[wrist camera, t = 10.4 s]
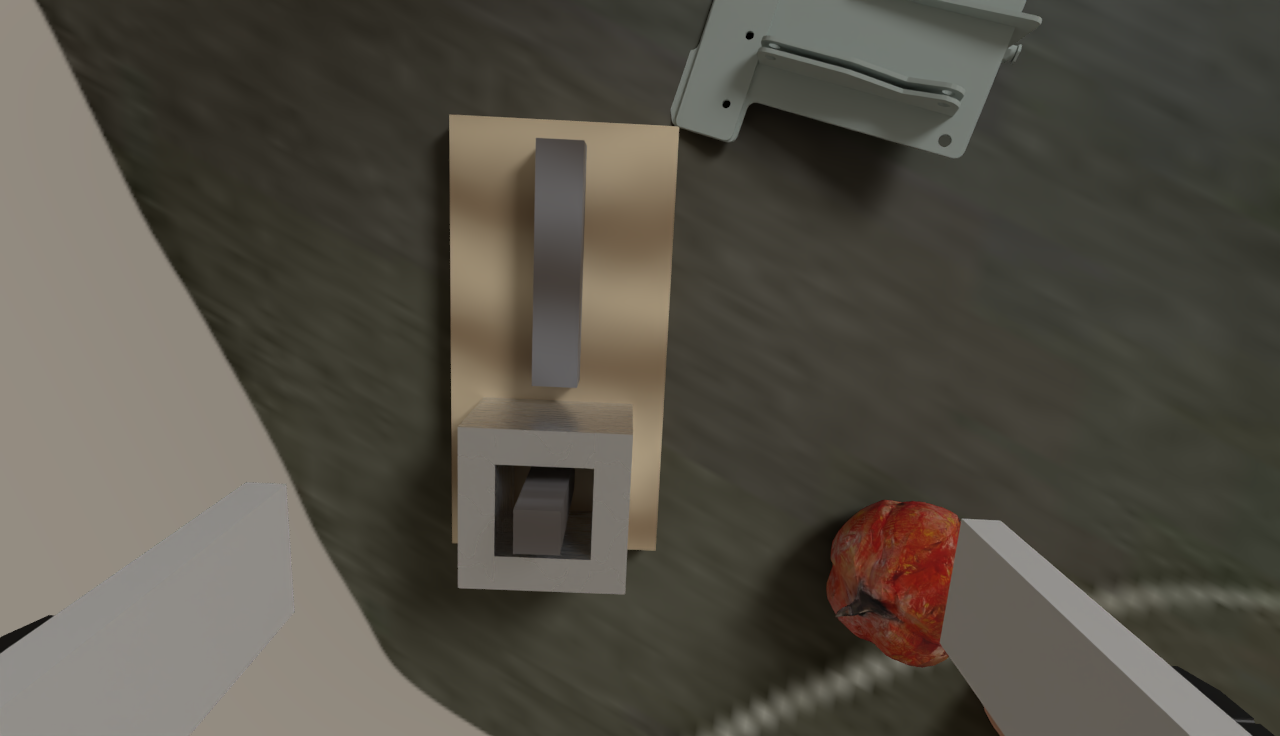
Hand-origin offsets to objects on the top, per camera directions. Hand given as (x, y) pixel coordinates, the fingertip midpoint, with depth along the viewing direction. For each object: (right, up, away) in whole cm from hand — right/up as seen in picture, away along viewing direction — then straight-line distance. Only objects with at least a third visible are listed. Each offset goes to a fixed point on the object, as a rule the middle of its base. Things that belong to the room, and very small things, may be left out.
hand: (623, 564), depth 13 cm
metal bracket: (+10, +20, +18) cm, 29 cm away
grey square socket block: (-4, -1, +19) cm, 20 cm away
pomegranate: (+13, -5, +22) cm, 27 cm away
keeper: (-3, +5, +20) cm, 21 cm away
